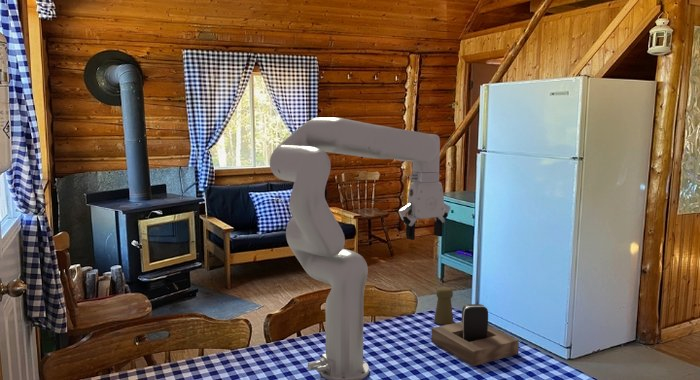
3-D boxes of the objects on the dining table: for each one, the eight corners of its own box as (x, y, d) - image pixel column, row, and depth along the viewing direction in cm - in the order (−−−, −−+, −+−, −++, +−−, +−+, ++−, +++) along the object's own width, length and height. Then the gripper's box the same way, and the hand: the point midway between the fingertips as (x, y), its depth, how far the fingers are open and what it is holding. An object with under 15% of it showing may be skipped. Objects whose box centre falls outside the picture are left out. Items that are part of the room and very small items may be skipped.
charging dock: (473, 366, 140) (473, 351, 140) (431, 341, 156) (431, 328, 155) (518, 353, 148) (518, 340, 147) (474, 331, 163) (474, 318, 163)
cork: (432, 323, 170) (433, 289, 168) (435, 317, 175) (436, 284, 174) (452, 325, 168) (453, 291, 166) (454, 319, 174) (455, 286, 172)
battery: (483, 340, 154) (484, 302, 152) (487, 346, 150) (489, 307, 149) (459, 341, 153) (460, 302, 152) (463, 347, 150) (464, 307, 148)
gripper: (407, 180, 145) (406, 243, 147) (458, 177, 153) (456, 236, 155) (392, 178, 151) (391, 237, 153) (442, 175, 159) (440, 232, 162)
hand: (424, 237), depth 154 cm, fingers open, 9 cm apart
